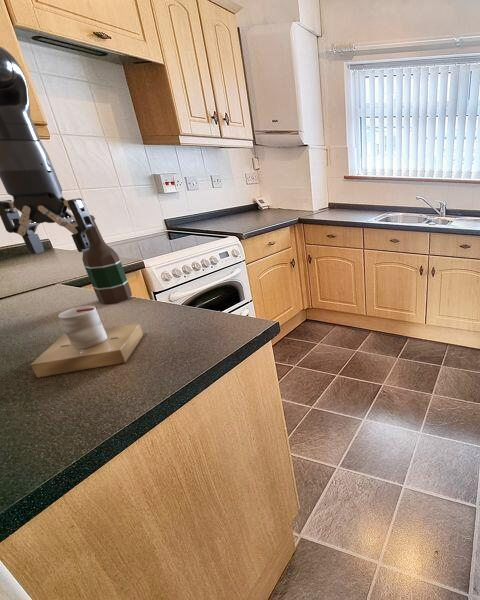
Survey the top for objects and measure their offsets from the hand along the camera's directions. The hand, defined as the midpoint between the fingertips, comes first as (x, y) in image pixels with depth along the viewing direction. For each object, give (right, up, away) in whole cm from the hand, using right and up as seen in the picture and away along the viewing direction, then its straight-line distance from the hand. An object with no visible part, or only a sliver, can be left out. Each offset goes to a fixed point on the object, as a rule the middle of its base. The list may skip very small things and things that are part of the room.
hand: (61, 251), depth 69 cm
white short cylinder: (+5, -19, +1) cm, 19 cm away
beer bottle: (-13, -10, +29) cm, 33 cm away
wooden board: (+5, -21, +2) cm, 22 cm away
